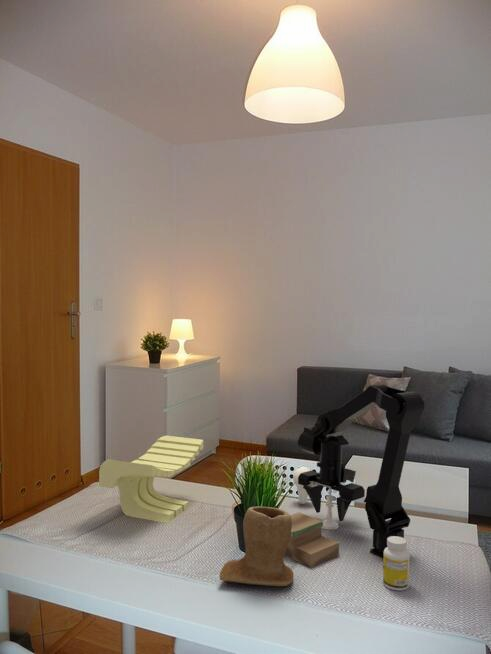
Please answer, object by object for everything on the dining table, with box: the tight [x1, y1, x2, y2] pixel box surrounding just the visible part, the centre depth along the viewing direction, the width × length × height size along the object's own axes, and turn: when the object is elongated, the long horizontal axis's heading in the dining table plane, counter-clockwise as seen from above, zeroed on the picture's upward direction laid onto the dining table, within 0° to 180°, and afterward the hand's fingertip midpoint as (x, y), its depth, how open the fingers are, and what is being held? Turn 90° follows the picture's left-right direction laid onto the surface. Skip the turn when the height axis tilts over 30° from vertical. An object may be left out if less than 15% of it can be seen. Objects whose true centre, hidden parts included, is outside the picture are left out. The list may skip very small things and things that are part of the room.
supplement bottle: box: [382, 536, 411, 592], centre depth 121 cm, size 5×5×10 cm
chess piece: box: [322, 488, 340, 531], centre depth 153 cm, size 5×5×10 cm
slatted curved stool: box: [98, 435, 204, 524], centre depth 162 cm, size 30×16×18 cm, turn 159°
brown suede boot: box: [219, 506, 295, 587], centre depth 123 cm, size 15×12×15 cm
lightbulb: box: [292, 466, 312, 505], centre depth 169 cm, size 6×6×11 cm
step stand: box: [284, 512, 340, 568], centre depth 136 cm, size 13×10×6 cm
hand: (329, 516), depth 153 cm, fingers open, 8 cm apart
